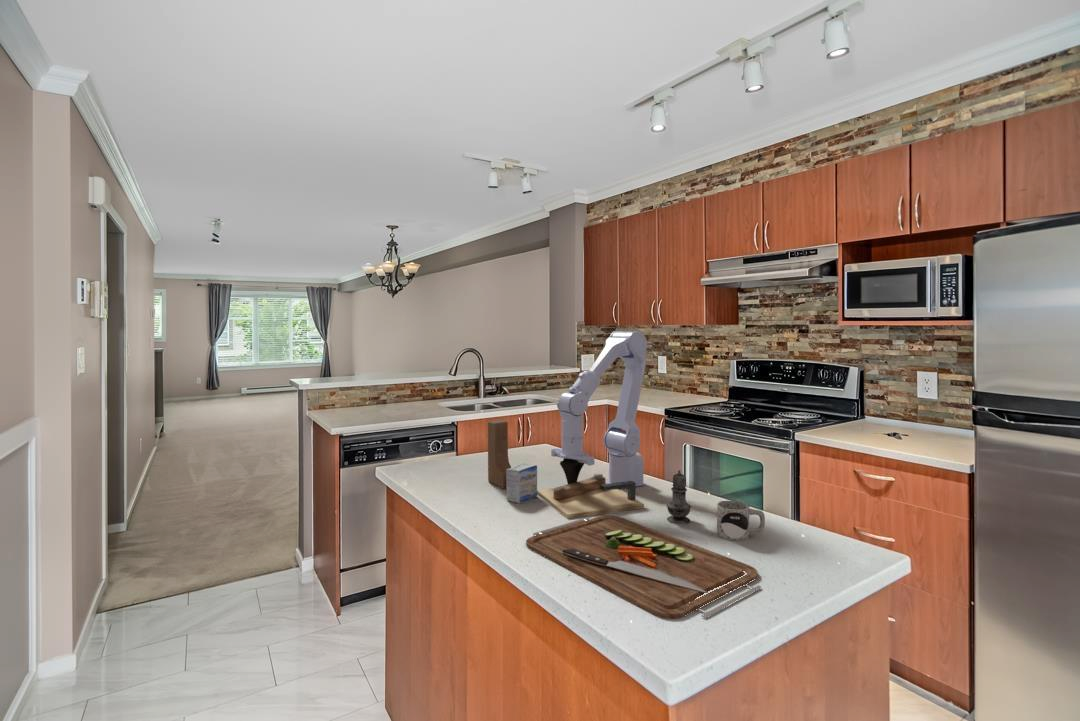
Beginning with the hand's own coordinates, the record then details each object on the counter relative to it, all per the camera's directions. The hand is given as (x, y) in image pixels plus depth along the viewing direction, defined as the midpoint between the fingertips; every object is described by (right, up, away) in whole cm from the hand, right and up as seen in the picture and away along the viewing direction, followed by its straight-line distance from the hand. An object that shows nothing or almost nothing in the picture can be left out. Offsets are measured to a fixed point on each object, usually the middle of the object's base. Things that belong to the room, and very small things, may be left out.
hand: (572, 486), depth 152 cm
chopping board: (+10, -6, -41) cm, 43 cm away
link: (+2, -1, -1) cm, 3 cm away
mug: (+35, -4, -30) cm, 46 cm away
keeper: (+12, -3, -8) cm, 15 cm away
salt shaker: (+24, -4, -20) cm, 31 cm away
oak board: (+4, -3, -5) cm, 7 cm away
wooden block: (-20, -2, +10) cm, 22 cm away
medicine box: (-14, -3, -3) cm, 14 cm away
